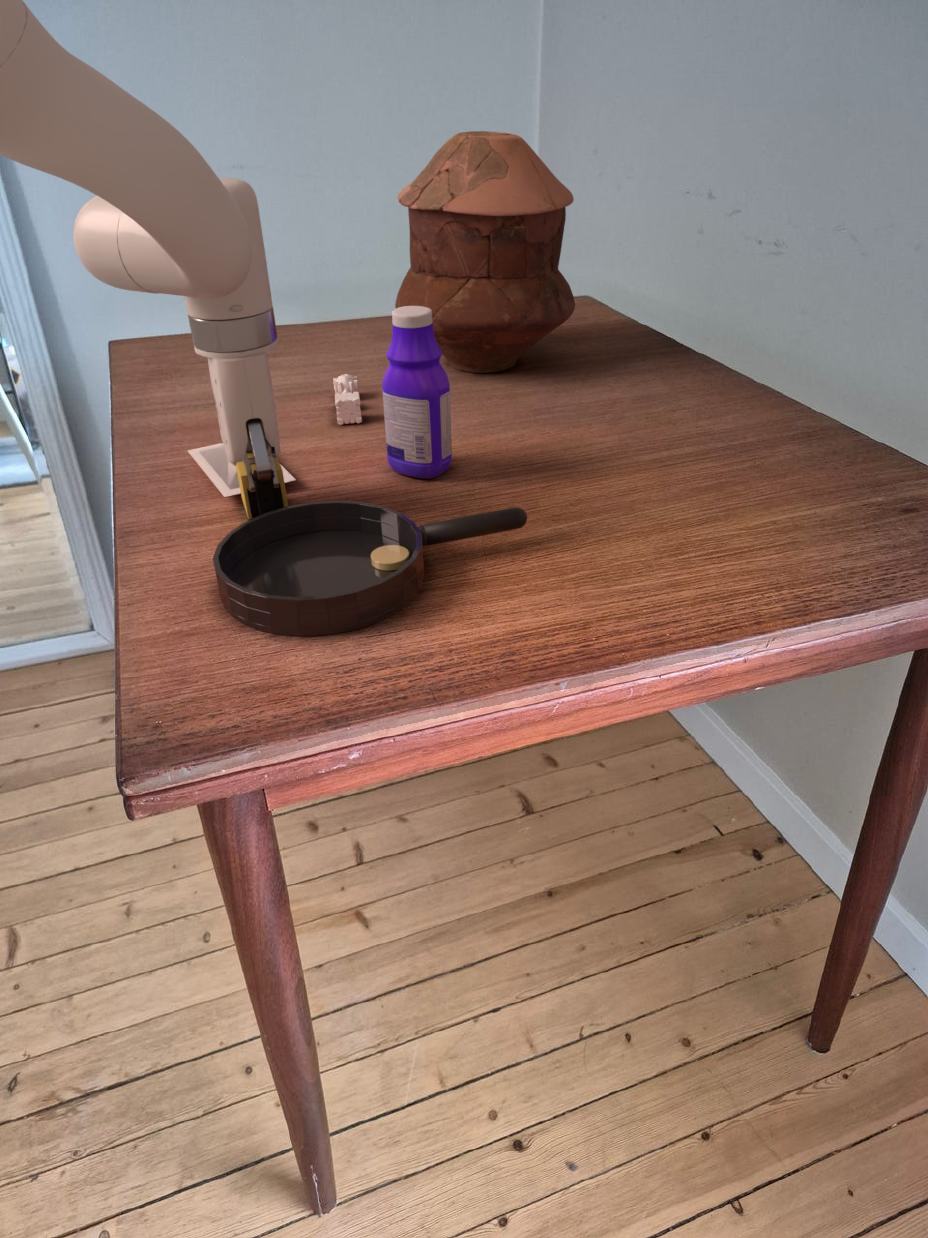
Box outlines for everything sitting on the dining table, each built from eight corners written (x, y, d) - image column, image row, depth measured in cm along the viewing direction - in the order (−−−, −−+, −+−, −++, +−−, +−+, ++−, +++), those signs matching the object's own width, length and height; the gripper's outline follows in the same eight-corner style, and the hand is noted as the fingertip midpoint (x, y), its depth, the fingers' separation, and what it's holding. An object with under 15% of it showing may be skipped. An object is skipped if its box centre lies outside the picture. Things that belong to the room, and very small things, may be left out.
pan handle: (416, 551, 81) (415, 532, 79) (410, 542, 82) (409, 522, 81) (530, 530, 83) (530, 510, 82) (522, 521, 85) (522, 502, 84)
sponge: (250, 528, 89) (240, 475, 85) (243, 505, 93) (233, 455, 90) (290, 521, 90) (282, 469, 86) (281, 499, 94) (273, 449, 91)
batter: (376, 574, 79) (376, 566, 79) (367, 556, 82) (366, 548, 82) (414, 566, 80) (414, 558, 80) (403, 549, 83) (403, 541, 83)
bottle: (462, 467, 100) (456, 306, 91) (433, 485, 96) (424, 320, 87) (408, 455, 104) (398, 299, 94) (379, 472, 100) (365, 312, 90)
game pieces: (363, 424, 113) (360, 399, 111) (336, 426, 112) (333, 401, 110) (359, 393, 123) (356, 369, 121) (334, 394, 122) (332, 371, 120)
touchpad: (226, 506, 94) (222, 487, 92) (189, 459, 105) (185, 441, 103) (297, 489, 97) (294, 470, 95) (253, 445, 108) (250, 427, 107)
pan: (233, 655, 71) (225, 618, 69) (211, 553, 85) (204, 520, 83) (450, 610, 75) (448, 573, 73) (394, 520, 90) (392, 488, 88)
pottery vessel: (383, 348, 140) (366, 130, 124) (538, 331, 145) (541, 120, 129) (420, 400, 119) (405, 146, 103) (600, 378, 124) (612, 133, 108)
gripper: (184, 313, 87) (218, 484, 97) (200, 362, 73) (238, 556, 83) (262, 304, 89) (288, 473, 99) (291, 350, 75) (317, 541, 85)
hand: (264, 509), depth 91 cm, fingers closed on sponge, 5 cm apart
